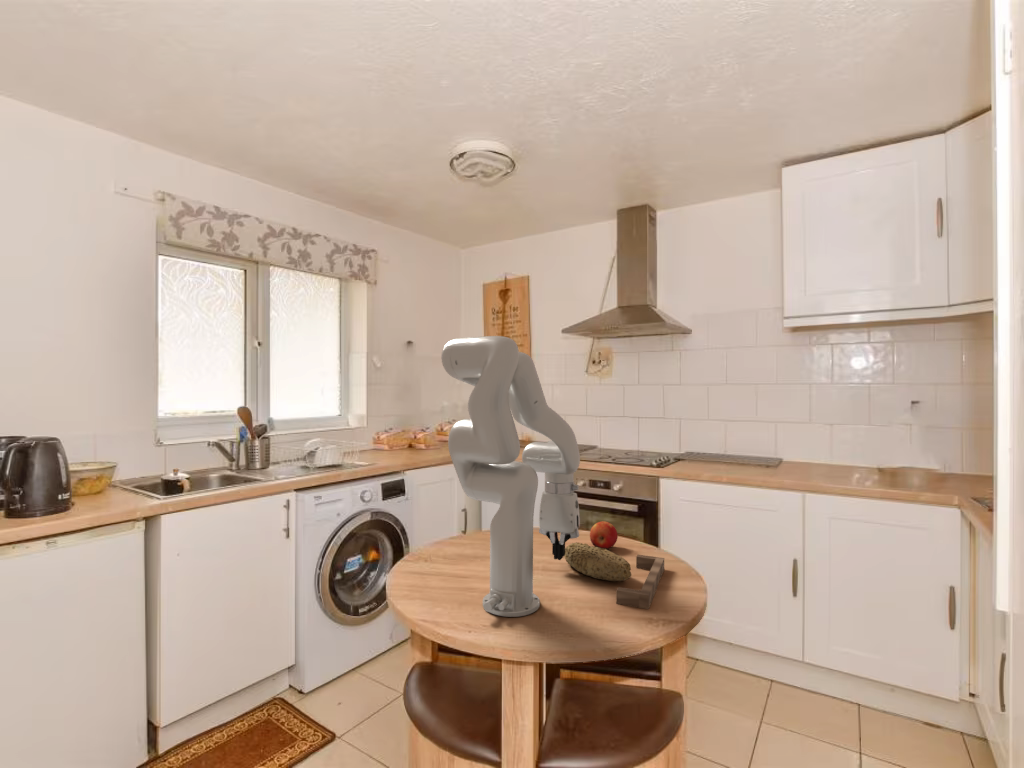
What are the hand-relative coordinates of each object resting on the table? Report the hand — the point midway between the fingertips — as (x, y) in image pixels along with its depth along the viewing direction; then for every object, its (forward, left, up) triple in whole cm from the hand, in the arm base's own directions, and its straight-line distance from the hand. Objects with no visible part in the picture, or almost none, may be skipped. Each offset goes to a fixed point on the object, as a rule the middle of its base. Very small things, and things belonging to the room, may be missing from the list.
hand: (558, 558), depth 133 cm
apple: (+24, -6, -4) cm, 25 cm away
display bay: (0, -21, -4) cm, 22 cm away
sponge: (+3, -9, -4) cm, 11 cm away
